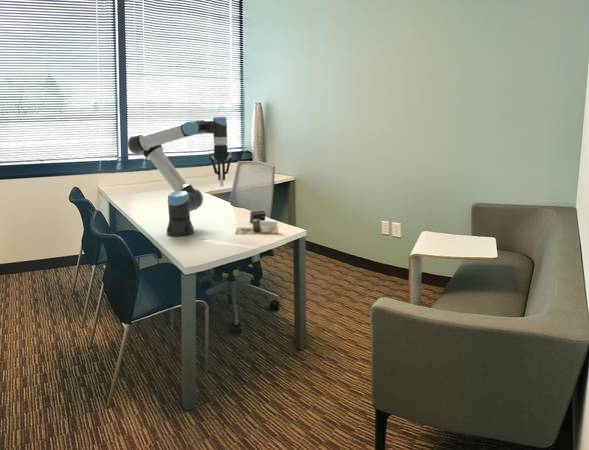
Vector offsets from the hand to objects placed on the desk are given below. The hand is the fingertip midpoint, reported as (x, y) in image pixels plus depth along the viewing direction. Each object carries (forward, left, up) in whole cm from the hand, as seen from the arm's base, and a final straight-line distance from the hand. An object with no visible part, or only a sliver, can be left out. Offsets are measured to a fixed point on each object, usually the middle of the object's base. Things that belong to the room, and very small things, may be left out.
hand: (221, 185), depth 280 cm
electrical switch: (+20, +13, -27) cm, 36 cm away
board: (+20, -7, -26) cm, 34 cm away
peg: (+21, -7, -25) cm, 33 cm away
